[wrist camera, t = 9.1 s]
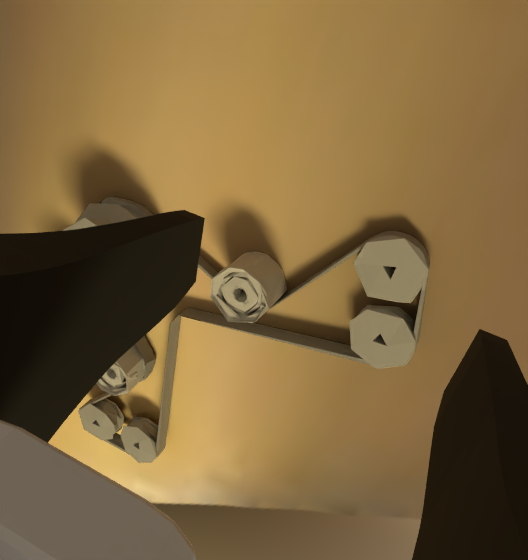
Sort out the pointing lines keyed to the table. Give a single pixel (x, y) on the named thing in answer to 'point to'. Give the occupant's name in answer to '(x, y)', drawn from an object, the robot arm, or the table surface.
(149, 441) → the pulley system
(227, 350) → the table surface
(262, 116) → the table surface
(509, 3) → the table surface
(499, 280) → the table surface
